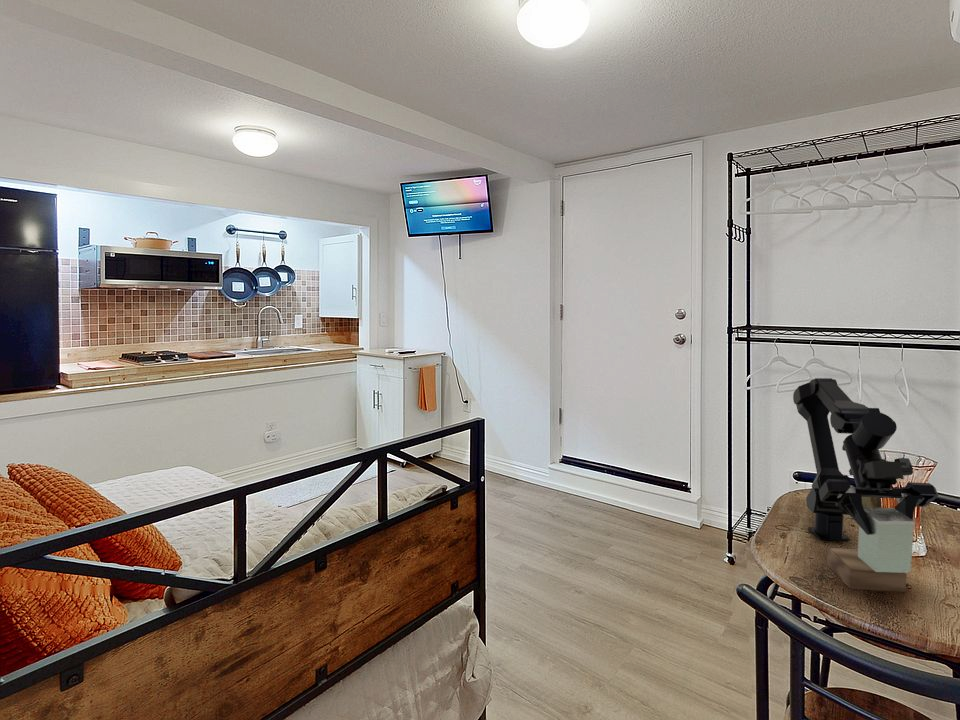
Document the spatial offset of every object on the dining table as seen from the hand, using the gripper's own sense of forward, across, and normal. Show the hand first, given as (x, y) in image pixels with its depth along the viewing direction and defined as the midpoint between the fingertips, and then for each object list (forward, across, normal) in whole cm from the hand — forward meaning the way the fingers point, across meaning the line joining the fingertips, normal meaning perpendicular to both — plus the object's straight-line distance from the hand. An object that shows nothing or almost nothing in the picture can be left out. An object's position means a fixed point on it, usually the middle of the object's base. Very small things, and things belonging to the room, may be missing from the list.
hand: (889, 535), depth 101 cm
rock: (-20, +17, +40) cm, 48 cm away
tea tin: (+4, 0, +6) cm, 7 cm away
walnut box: (+4, 0, +15) cm, 16 cm away
